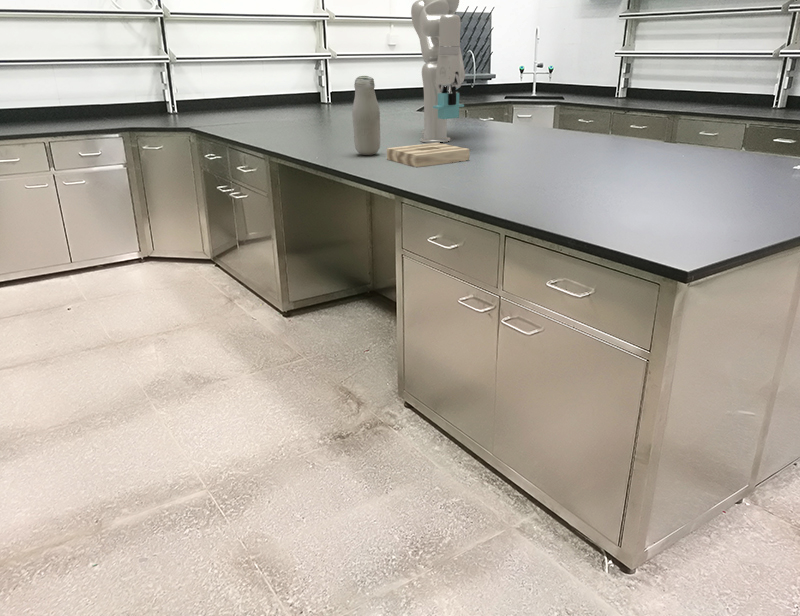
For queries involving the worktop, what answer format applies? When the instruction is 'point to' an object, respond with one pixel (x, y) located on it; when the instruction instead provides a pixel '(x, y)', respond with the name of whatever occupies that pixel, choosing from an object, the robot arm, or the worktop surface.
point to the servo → (447, 107)
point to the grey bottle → (366, 117)
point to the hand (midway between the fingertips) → (448, 103)
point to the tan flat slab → (427, 154)
